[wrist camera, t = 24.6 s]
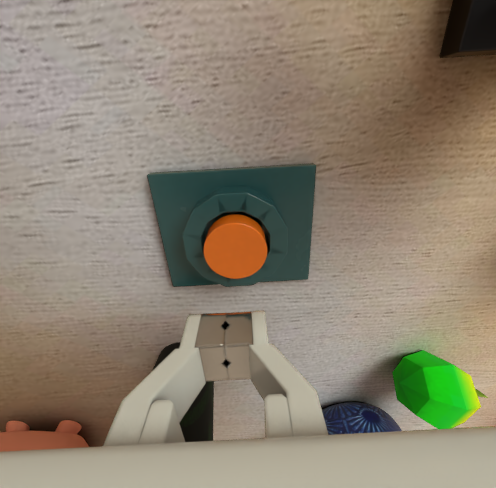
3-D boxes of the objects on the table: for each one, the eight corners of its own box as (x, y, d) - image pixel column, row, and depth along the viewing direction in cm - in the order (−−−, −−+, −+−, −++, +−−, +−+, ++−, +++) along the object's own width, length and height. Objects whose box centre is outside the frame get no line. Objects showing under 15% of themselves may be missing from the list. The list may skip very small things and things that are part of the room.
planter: (414, 397, 29) (501, 539, 19) (366, 451, 35) (415, 582, 25) (315, 383, 28) (354, 529, 18) (281, 442, 33) (297, 578, 23)
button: (210, 268, 18) (207, 280, 17) (202, 215, 16) (199, 225, 15) (266, 264, 18) (267, 277, 17) (264, 212, 16) (266, 221, 15)
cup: (163, 323, 23) (96, 503, 12) (237, 350, 25) (233, 527, 14) (138, 372, 26) (66, 550, 15) (205, 392, 28) (182, 564, 17)
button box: (174, 281, 21) (166, 301, 19) (150, 172, 17) (136, 181, 15) (306, 274, 21) (313, 293, 19) (313, 163, 17) (324, 170, 15)
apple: (430, 442, 19) (532, 452, 20) (427, 354, 21) (522, 367, 22) (373, 405, 26) (451, 414, 27) (374, 341, 28) (448, 352, 29)
